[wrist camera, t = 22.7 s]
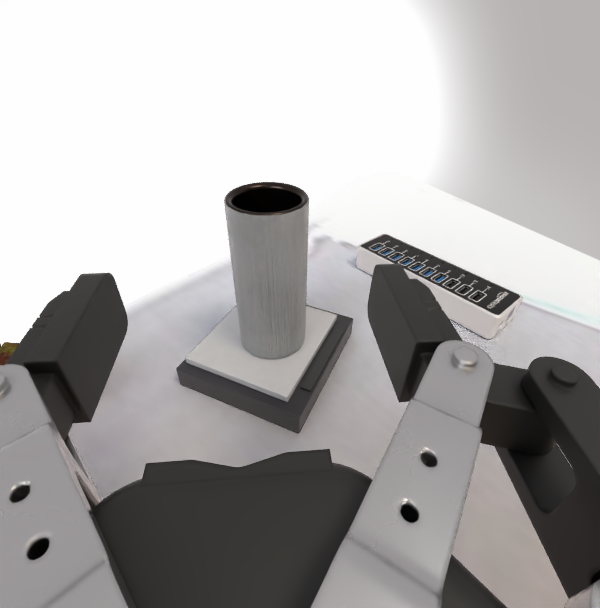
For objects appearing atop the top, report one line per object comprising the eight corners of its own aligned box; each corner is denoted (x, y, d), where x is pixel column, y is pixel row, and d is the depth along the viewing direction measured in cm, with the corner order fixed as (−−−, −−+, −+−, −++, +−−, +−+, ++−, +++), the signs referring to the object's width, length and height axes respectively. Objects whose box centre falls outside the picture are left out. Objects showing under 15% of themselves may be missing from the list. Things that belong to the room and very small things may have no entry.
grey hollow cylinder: (318, 338, 26) (326, 197, 20) (268, 371, 24) (259, 223, 17) (277, 308, 29) (272, 176, 22) (228, 335, 26) (207, 194, 20)
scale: (298, 433, 23) (299, 413, 21) (180, 384, 25) (174, 363, 24) (351, 333, 30) (353, 313, 28) (254, 303, 33) (252, 284, 31)
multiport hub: (381, 251, 40) (384, 232, 39) (515, 317, 31) (525, 296, 30) (353, 265, 38) (356, 245, 36) (489, 340, 29) (499, 318, 28)
